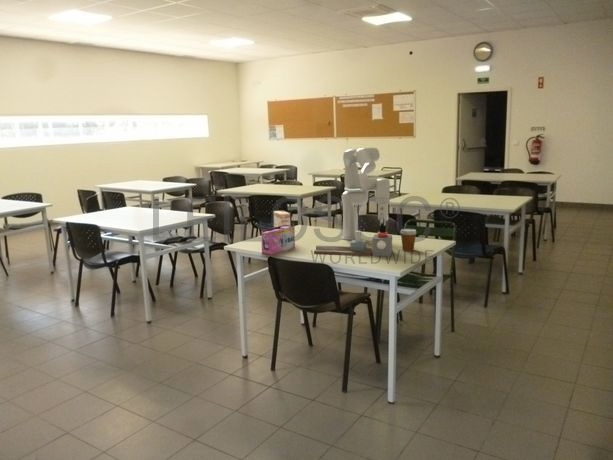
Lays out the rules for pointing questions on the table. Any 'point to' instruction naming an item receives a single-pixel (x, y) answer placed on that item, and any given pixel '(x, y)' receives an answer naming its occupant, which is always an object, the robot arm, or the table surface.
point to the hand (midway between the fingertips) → (382, 232)
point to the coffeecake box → (281, 218)
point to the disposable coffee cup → (408, 239)
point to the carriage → (358, 242)
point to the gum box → (278, 239)
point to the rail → (341, 250)
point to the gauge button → (382, 234)
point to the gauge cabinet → (382, 245)
